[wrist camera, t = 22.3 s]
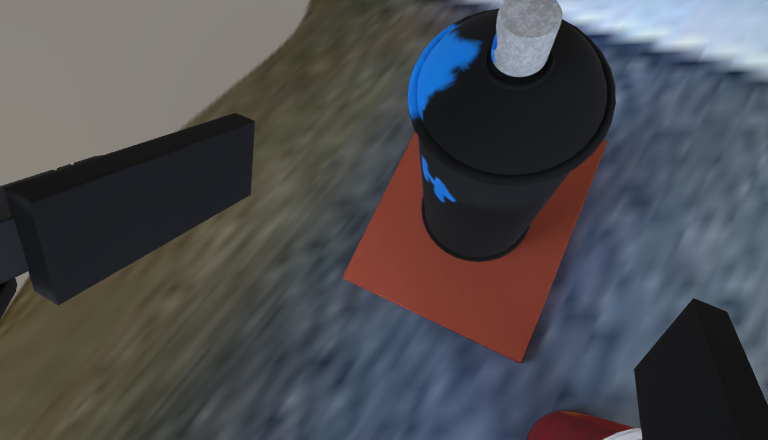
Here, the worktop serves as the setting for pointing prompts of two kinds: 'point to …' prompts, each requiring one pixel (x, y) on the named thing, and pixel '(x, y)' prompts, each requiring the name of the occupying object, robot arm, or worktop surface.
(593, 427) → the paper cup
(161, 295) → the worktop surface
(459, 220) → the aerosol can
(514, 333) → the pad
